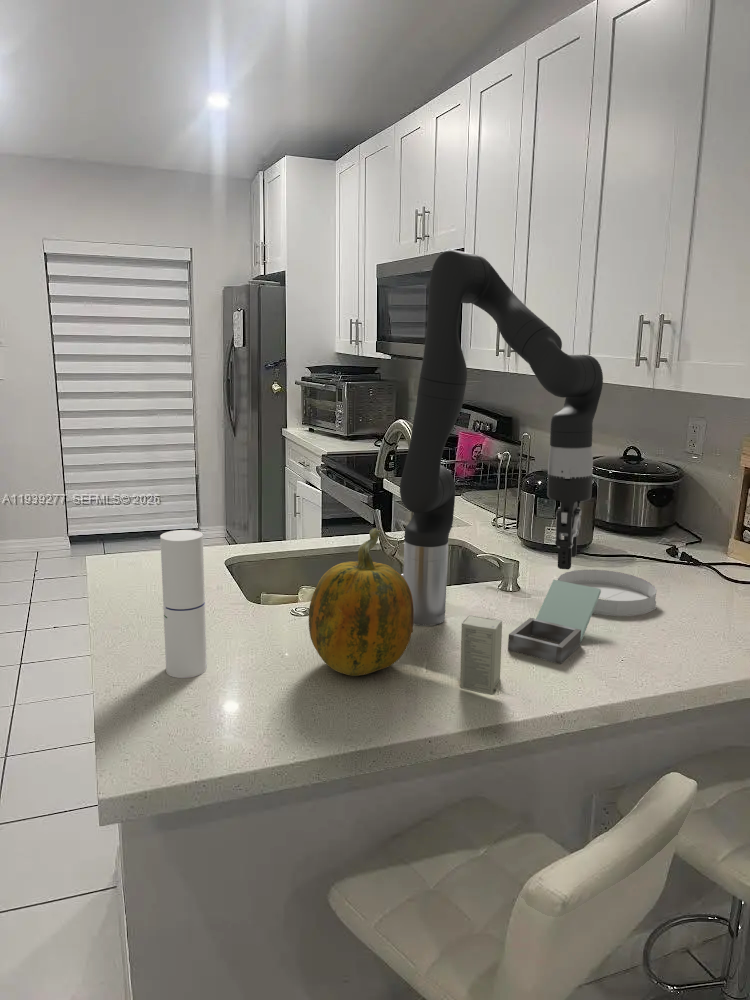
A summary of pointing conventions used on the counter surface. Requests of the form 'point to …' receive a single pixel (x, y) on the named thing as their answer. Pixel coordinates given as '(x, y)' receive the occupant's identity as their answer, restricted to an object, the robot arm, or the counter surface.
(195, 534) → the cylindrical container
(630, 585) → the dish
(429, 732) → the counter surface
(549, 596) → the open box lid
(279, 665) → the counter surface
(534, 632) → the dark grey tray
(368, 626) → the pumpkin
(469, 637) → the skincare box
